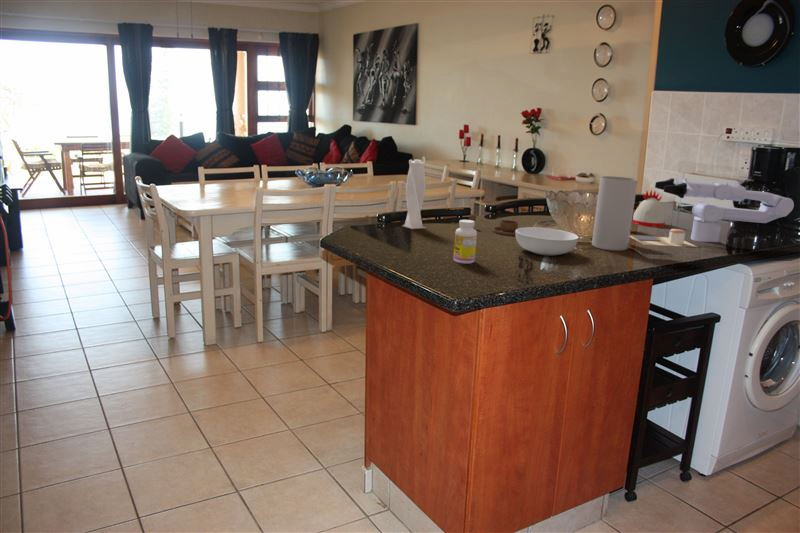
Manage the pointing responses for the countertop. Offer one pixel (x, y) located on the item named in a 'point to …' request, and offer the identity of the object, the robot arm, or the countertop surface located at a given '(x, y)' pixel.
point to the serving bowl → (546, 240)
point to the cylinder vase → (614, 213)
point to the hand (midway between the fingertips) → (660, 186)
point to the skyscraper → (415, 193)
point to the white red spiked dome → (650, 211)
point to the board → (663, 242)
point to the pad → (645, 238)
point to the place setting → (502, 226)
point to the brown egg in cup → (676, 236)
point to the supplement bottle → (465, 242)
